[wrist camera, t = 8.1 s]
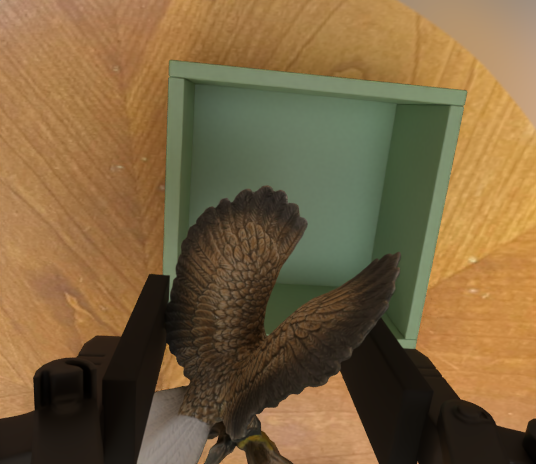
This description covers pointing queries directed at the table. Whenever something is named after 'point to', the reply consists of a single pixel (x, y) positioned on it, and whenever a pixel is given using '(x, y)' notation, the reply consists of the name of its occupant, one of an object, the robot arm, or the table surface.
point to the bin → (316, 173)
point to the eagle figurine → (250, 331)
